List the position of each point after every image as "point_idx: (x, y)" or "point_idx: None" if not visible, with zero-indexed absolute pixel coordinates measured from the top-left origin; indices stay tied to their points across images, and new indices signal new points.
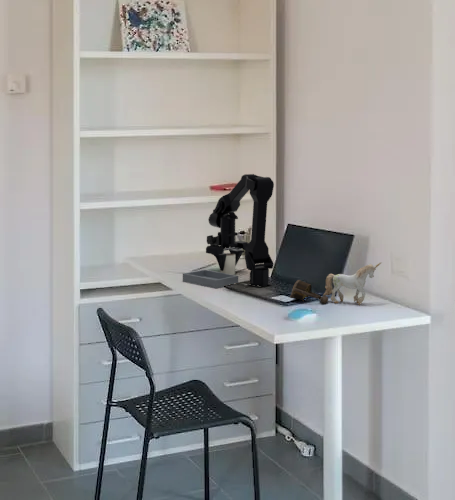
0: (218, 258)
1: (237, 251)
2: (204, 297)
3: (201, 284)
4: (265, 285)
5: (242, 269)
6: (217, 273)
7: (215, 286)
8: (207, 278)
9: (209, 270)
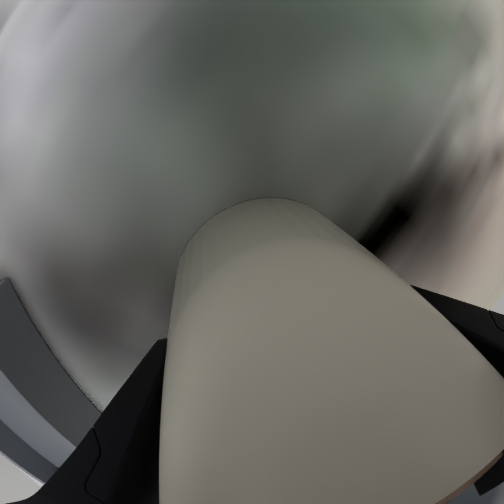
0: (91, 502)
1: (500, 482)
2: (29, 475)
3: (2, 421)
4: None
5: (494, 152)
6: (71, 445)
7: (55, 469)
8: (19, 467)
9: (8, 382)
